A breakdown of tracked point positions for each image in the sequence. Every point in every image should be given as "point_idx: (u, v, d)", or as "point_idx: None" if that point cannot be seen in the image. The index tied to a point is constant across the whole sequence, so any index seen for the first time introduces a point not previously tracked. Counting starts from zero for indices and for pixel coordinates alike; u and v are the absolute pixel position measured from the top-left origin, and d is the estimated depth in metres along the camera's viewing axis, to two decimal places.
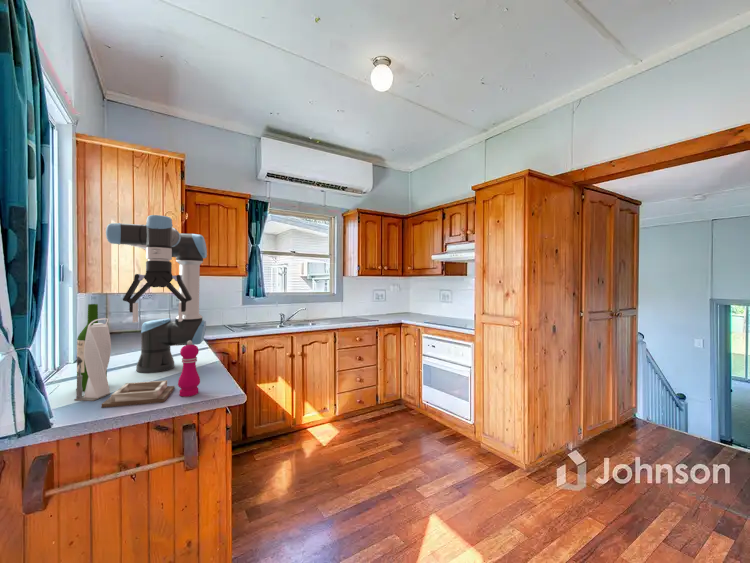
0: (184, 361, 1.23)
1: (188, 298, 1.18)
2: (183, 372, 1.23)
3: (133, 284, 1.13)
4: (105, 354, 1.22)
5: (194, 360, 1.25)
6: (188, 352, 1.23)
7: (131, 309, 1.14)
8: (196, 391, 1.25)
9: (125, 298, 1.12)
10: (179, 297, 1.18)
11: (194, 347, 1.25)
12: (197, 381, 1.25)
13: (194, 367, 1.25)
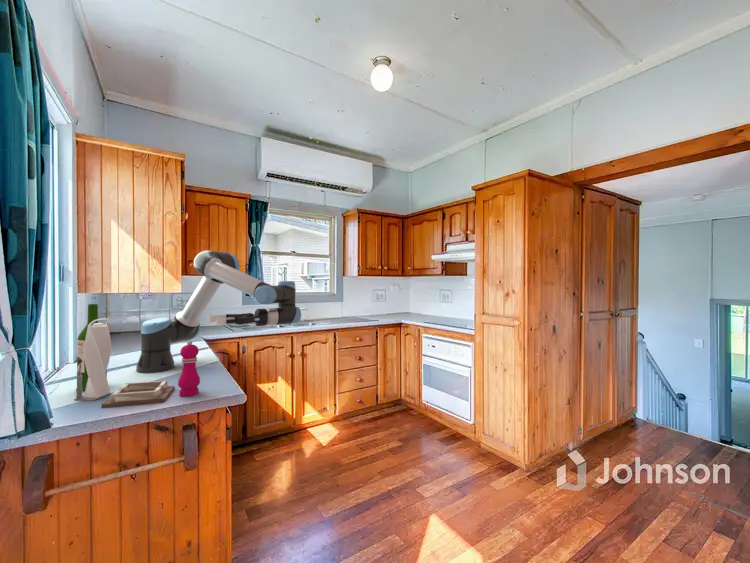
0: (184, 361, 1.23)
1: None
2: (183, 372, 1.23)
3: (251, 322, 1.36)
4: (105, 354, 1.22)
5: (194, 360, 1.25)
6: (188, 352, 1.23)
7: (229, 323, 1.30)
8: (196, 391, 1.25)
9: None
10: None
11: (194, 347, 1.25)
12: (197, 381, 1.25)
13: (194, 367, 1.25)
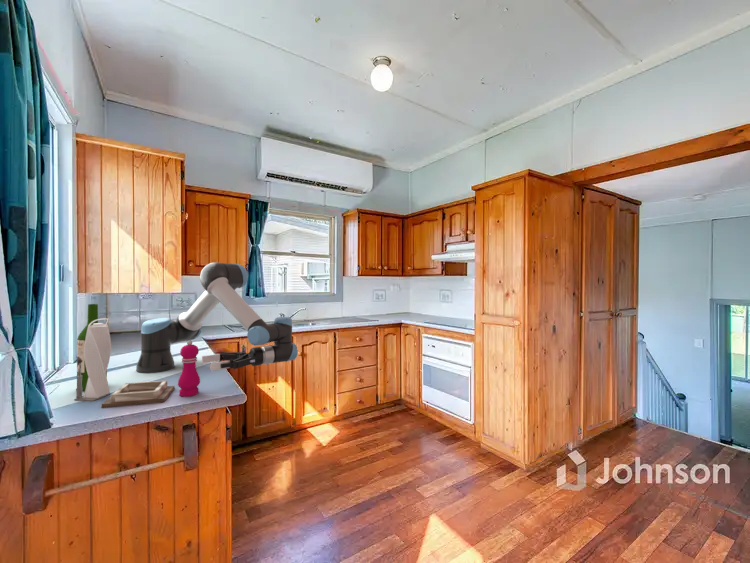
0: (184, 361, 1.23)
1: None
2: (183, 372, 1.23)
3: None
4: (105, 354, 1.22)
5: (194, 360, 1.25)
6: (188, 352, 1.23)
7: None
8: (196, 391, 1.25)
9: None
10: None
11: (194, 347, 1.25)
12: (197, 381, 1.25)
13: (194, 367, 1.25)
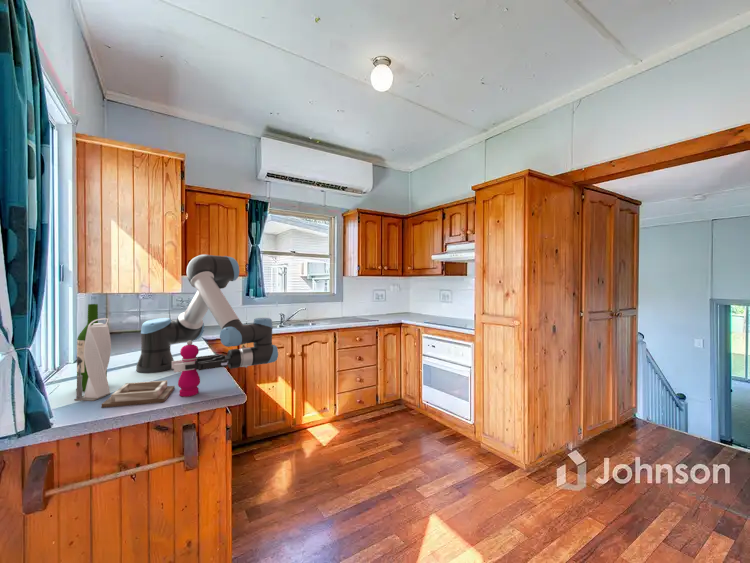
0: (184, 361, 1.23)
1: None
2: (183, 372, 1.23)
3: None
4: (105, 354, 1.22)
5: (194, 360, 1.25)
6: (188, 352, 1.23)
7: None
8: (196, 391, 1.25)
9: None
10: None
11: (194, 347, 1.25)
12: (197, 381, 1.25)
13: None
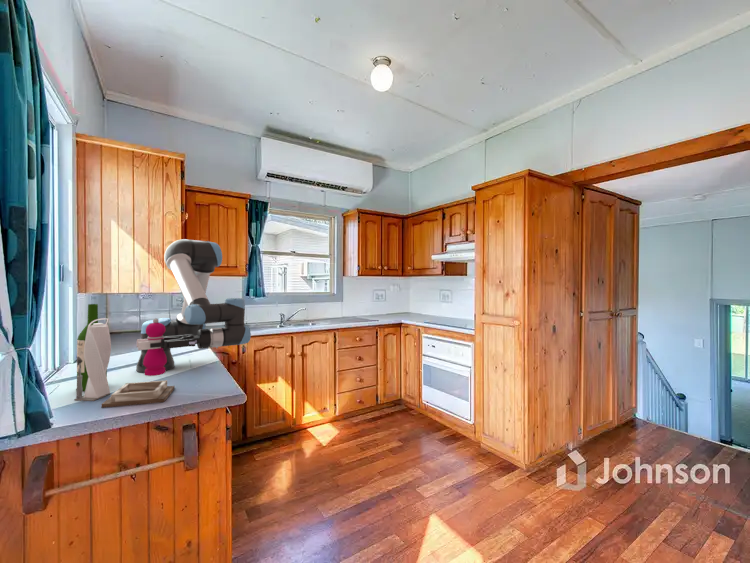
0: (149, 339, 1.19)
1: None
2: (148, 351, 1.19)
3: None
4: (105, 354, 1.22)
5: (160, 338, 1.21)
6: (154, 330, 1.19)
7: None
8: (162, 370, 1.21)
9: None
10: None
11: (160, 325, 1.21)
12: (163, 360, 1.21)
13: None
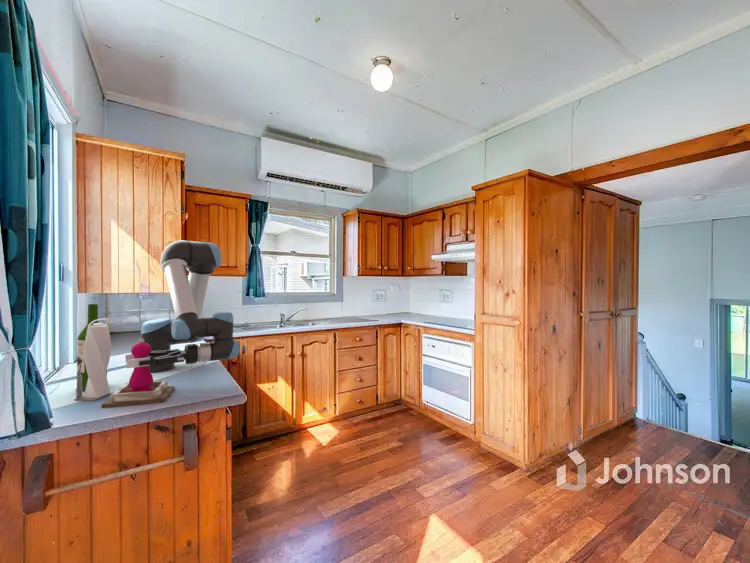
0: None
1: None
2: (134, 371, 1.19)
3: None
4: (105, 354, 1.22)
5: None
6: (139, 351, 1.18)
7: None
8: None
9: None
10: None
11: (146, 345, 1.20)
12: (149, 381, 1.20)
13: (146, 366, 1.21)
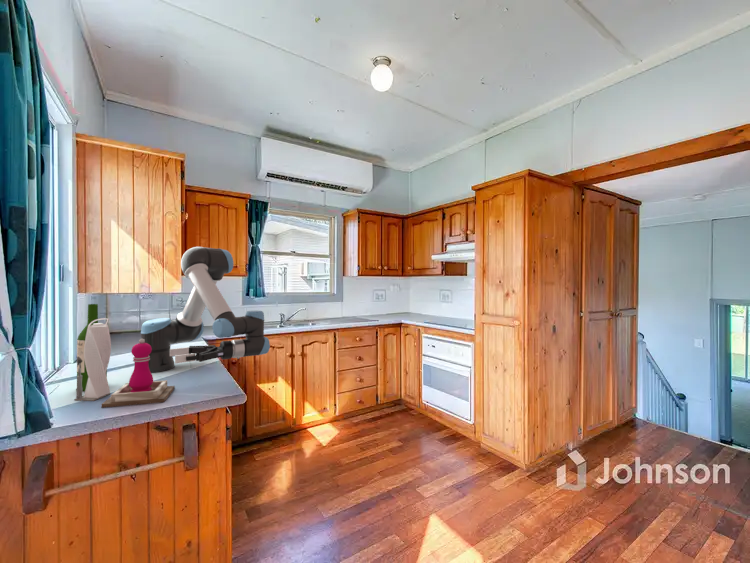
0: (135, 360, 1.19)
1: None
2: (134, 371, 1.19)
3: None
4: (105, 354, 1.22)
5: (146, 359, 1.20)
6: (139, 351, 1.18)
7: None
8: None
9: None
10: None
11: (146, 345, 1.20)
12: (149, 381, 1.20)
13: (146, 366, 1.21)
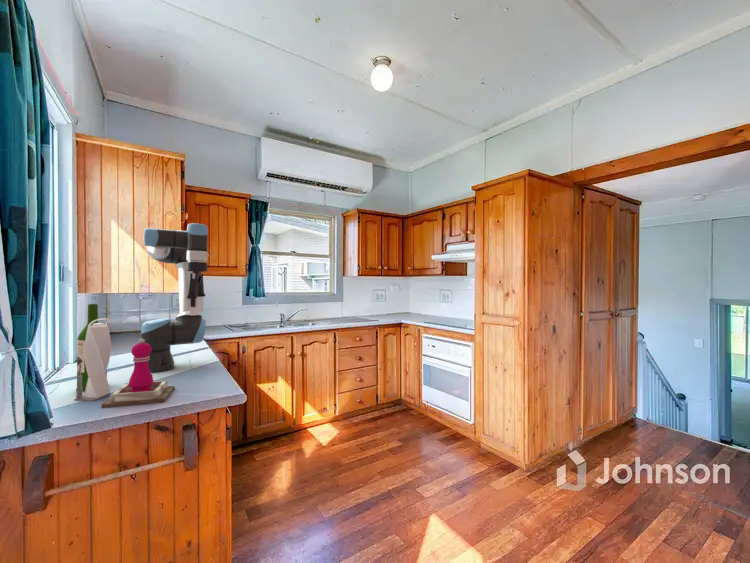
0: (135, 360, 1.19)
1: (203, 292, 1.47)
2: (134, 371, 1.19)
3: (197, 282, 1.31)
4: (105, 354, 1.22)
5: (146, 359, 1.20)
6: (139, 351, 1.18)
7: (195, 304, 1.30)
8: None
9: (195, 294, 1.29)
10: (202, 292, 1.44)
11: (146, 345, 1.20)
12: (149, 381, 1.20)
13: (146, 366, 1.21)
